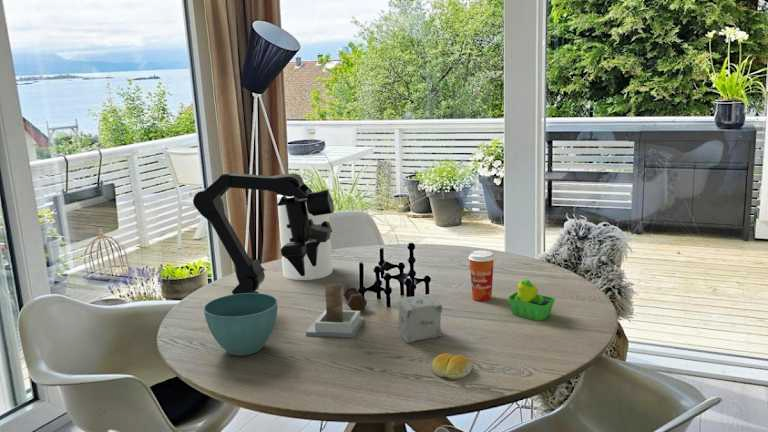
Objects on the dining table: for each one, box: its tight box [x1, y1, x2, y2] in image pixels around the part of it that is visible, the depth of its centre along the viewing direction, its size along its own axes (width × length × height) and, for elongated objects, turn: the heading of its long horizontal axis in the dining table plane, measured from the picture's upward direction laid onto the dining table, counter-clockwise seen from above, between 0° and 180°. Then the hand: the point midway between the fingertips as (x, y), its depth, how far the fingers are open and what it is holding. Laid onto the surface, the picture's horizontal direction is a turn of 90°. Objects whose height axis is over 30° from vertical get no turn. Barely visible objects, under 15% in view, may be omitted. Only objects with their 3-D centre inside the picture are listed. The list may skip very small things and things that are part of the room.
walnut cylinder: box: [324, 282, 344, 322], centre depth 185 cm, size 4×4×11 cm
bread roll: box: [431, 352, 473, 380], centre depth 157 cm, size 8×9×4 cm
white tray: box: [305, 309, 365, 338], centre depth 186 cm, size 13×12×4 cm
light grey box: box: [397, 293, 443, 344], centre depth 177 cm, size 10×8×10 cm
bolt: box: [342, 285, 368, 312], centre depth 205 cm, size 6×5×15 cm
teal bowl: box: [203, 292, 278, 357], centre depth 173 cm, size 18×18×12 cm
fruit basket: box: [507, 278, 556, 322], centre depth 189 cm, size 11×9×11 cm
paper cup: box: [468, 250, 496, 303], centre depth 204 cm, size 8×8×14 cm
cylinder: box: [276, 194, 333, 281], centre depth 236 cm, size 17×17×28 cm
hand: (308, 270), depth 196 cm, fingers open, 9 cm apart
